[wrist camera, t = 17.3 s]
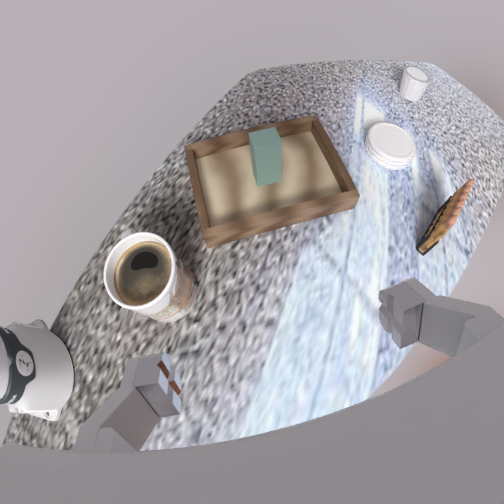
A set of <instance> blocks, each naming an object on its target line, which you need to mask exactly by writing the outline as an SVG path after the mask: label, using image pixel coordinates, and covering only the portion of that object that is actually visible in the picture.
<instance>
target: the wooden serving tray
mask: <svg viewBox="0 0 504 504" xmlns="http://www.w3.org/2000/svg"><path fill="white" fill-rule="evenodd" d="M272 127H275V128H276V130H277V132H278V134H279V136H280V138H281V140H282V163H281V181H279V182H276V183H272V184H268V185H264V186H260V187H258V186H257V183H256V180H255V178H254V175H253V170H252V161H251V152H250V144H249V135H248V133H250V132H254V131H259V130H263V129H268V128H272ZM185 152H186V157H187V162H188V167H189V173H190V178H191V183H192V188H193V193H194V198H195V203H196V207H197V212H198V217H199V222H200V226H201V231H202V235H203V239H204V240H205V242H206V244H207V246H208V248H210V247H213V246H217V245H221V244H224V243H228V242H231V241H235V240H238V239H242V238H246V237H249V236H253V235H256V234H260V233H264V232H267V231H271V230H275V229H278V228H282V227H286V226H289V225H293V224H297V223H300V222H304V221H308V220H312V219H315V218H319V217H323V216H326V215H330V214H334V213H338V212H342V211H345V210H349V209H353V208H354V207H355V205H356V203H357V201H358V199H359V196H360V195H359V193H358V191H357V189H356V187H355V185H354V183H353V181H352V179H351V177H350V175H349V173H348V171H347V170H346V168H345V166H344V164H343V162H342V160H341V158H340V157H339V155H338V153H337V151H336V149H335V148H334V146H333V144H332V142H331V140H330V139H329V137H328V135H327V133H326V132H325V130H324V128H323V127H322V125H321V123H320V122H319V120H318V118H317V117H316V115H315V116H309V117H303V118H297V119H292V120H287V121H282V122H277V123H272V124H267V125H263V126H258V127H254V128H249V129H245V130H241V131H237V132H233V133H229V134H225V135H221V136H218V137H214V138H210V139H207V140H203V141H200V142H196V143H193V144H189V145H186V146H185Z"/></svg>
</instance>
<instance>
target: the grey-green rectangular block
mask: <svg viewBox="0 0 504 504" xmlns="http://www.w3.org/2000/svg"><path fill="white" fill-rule="evenodd" d="M248 135H249V144H250V152H251V161H252V170H253V175H254V178H255V180H256V183H257V186H258V187H260V186H264V185H268V184H272V183H276V182H279V181H281V163H282V140H281V138H280V136H279V134H278V132H277V130H276V128H275V127H272V128H268V129H263V130H259V131H254V132H250V133H248Z"/></svg>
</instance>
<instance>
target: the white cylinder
mask: <svg viewBox="0 0 504 504" xmlns="http://www.w3.org/2000/svg"><path fill="white" fill-rule="evenodd" d="M429 82H430V77H429V76H428V75H427V74H426V73H425V72H424V71H422V70H421V69H419V68H416V67H414V66H405V67H404V70H403V75H402V80H401V84H400V89H399V91H400V94H401V95H402V96H403V97H404V98H406V99H408V100H410V101H415V102H417V101H419V99H420V98H421V96H422V94H423V92H424V91H425V89H426V87H427V85H428V83H429Z"/></svg>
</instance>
